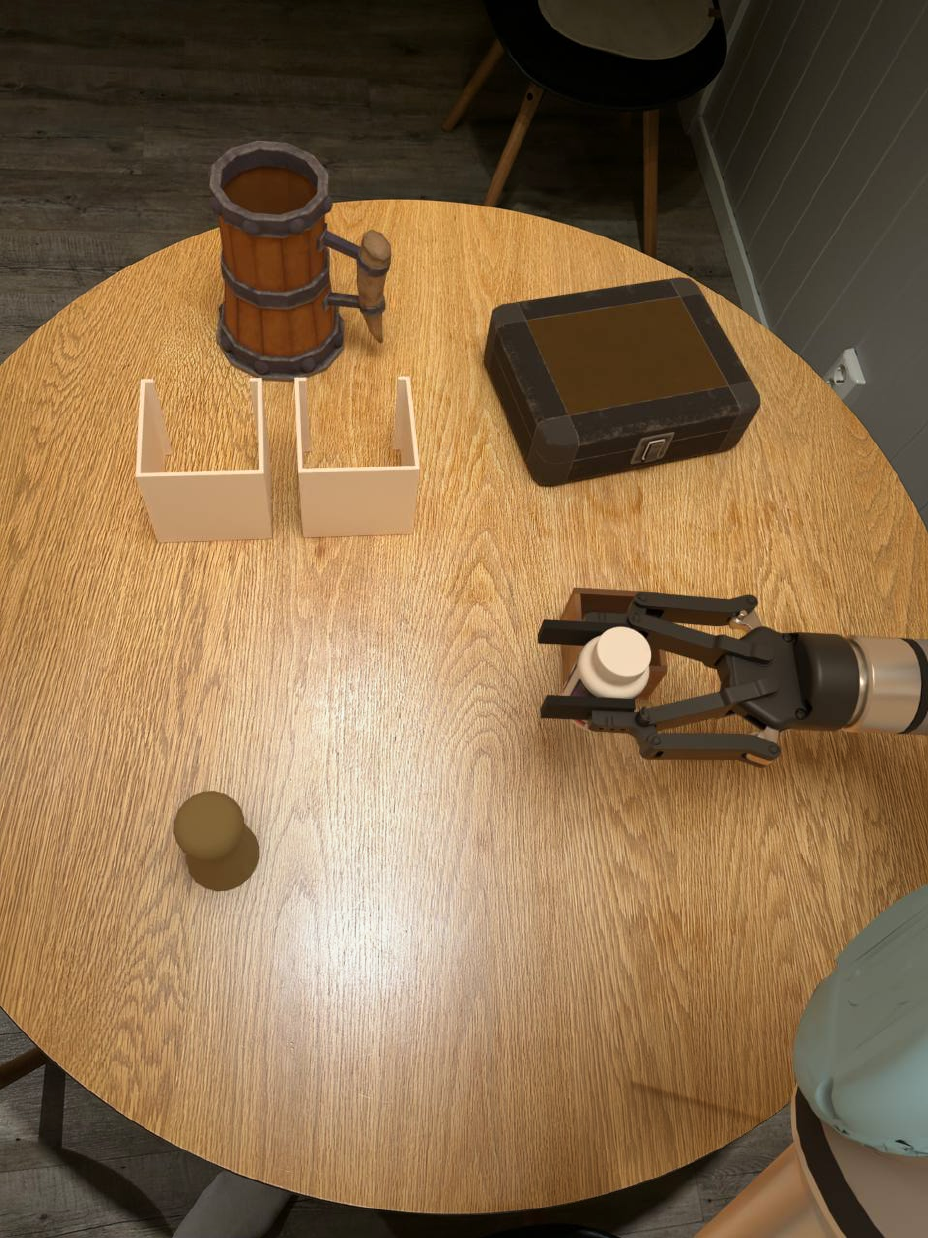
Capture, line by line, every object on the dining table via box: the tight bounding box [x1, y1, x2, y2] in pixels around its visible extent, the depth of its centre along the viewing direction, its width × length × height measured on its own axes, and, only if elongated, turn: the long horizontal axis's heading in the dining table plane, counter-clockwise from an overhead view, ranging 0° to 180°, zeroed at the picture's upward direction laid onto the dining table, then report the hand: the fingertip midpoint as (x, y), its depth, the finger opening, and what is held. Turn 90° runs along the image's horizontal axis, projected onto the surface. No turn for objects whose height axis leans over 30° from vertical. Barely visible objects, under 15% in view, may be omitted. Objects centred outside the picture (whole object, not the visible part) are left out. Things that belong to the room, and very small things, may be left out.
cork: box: [172, 790, 260, 892], centre depth 74 cm, size 6×6×11 cm
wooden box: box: [559, 587, 669, 700], centre depth 89 cm, size 8×8×6 cm
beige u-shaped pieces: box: [135, 376, 421, 544], centre depth 91 cm, size 25×11×11 cm, turn 96°
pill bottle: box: [561, 627, 651, 732], centre depth 71 cm, size 5×5×10 cm
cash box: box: [483, 276, 762, 487], centre depth 103 cm, size 25×20×8 cm
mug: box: [207, 140, 393, 383], centre depth 97 cm, size 19×14×20 cm
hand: (542, 668), depth 70 cm, fingers closed on pill bottle, 5 cm apart
